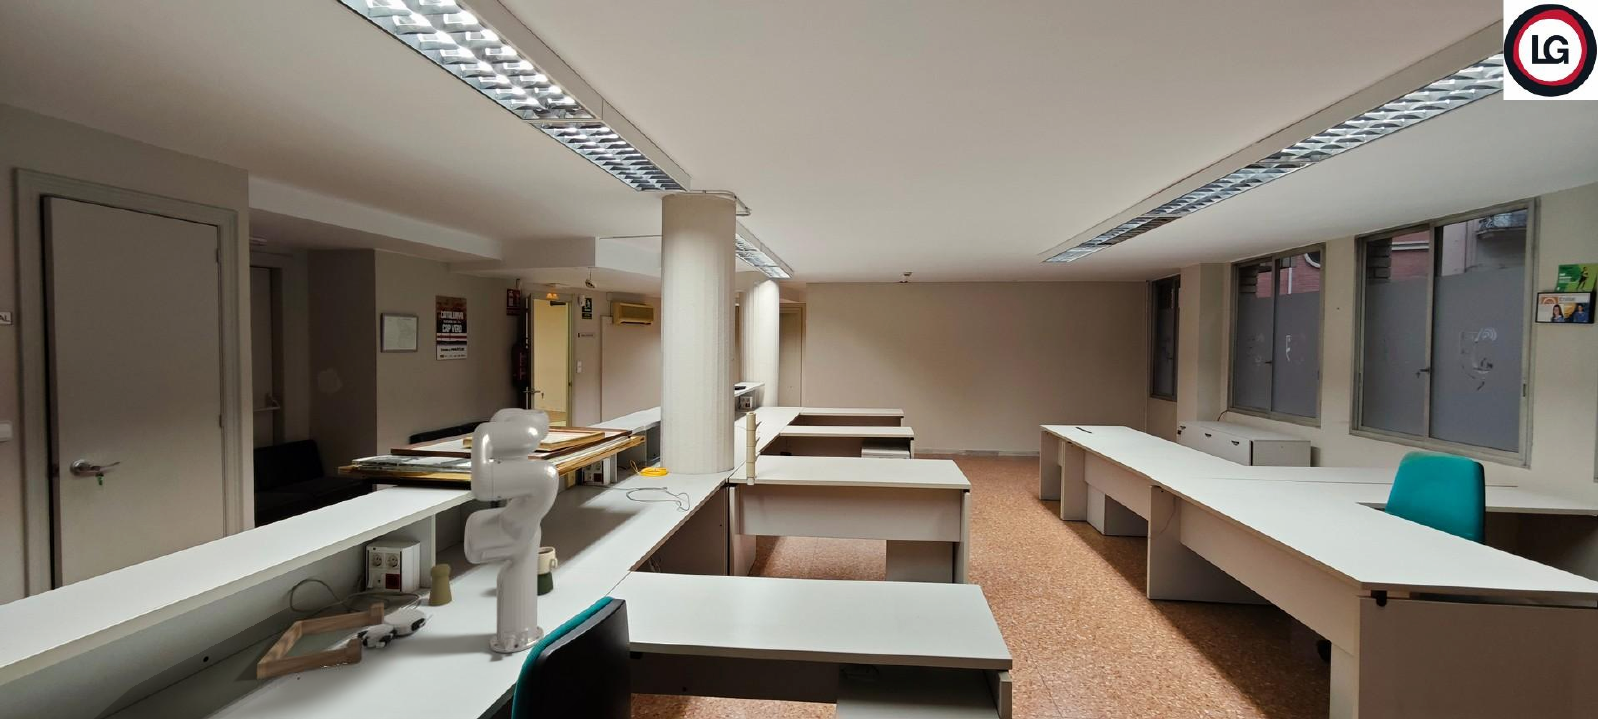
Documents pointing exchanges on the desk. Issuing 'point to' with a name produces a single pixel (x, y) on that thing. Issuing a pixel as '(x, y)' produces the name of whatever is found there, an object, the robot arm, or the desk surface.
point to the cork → (440, 585)
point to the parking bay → (351, 654)
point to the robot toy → (393, 627)
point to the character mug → (545, 569)
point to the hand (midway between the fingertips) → (511, 509)
